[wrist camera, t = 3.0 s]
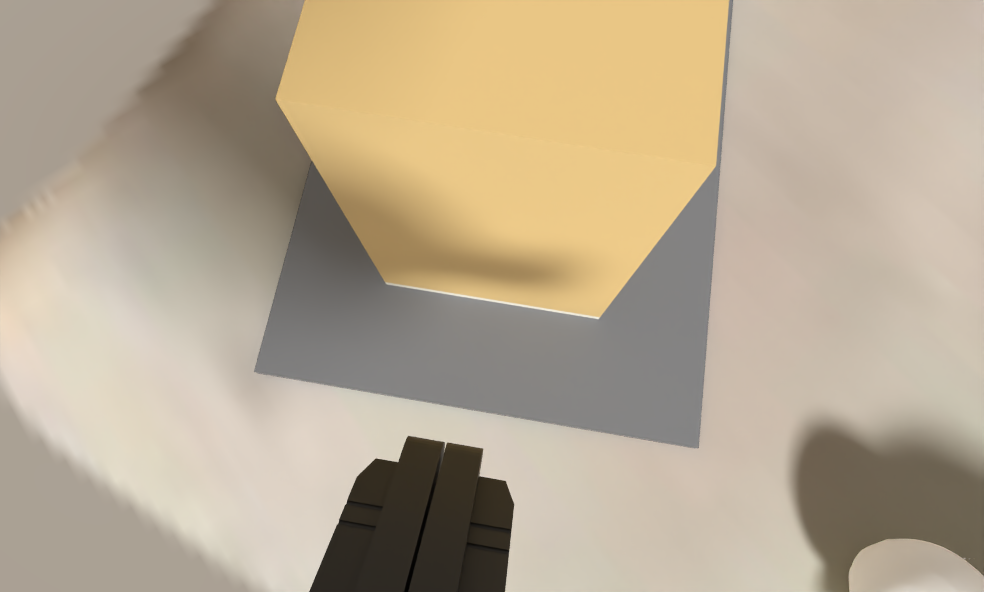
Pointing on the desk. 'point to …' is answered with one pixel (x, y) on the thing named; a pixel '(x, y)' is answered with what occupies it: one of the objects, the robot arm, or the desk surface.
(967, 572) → the white figurine
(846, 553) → the desk surface
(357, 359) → the charcoal mat
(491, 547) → the robot arm
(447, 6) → the ochre block
